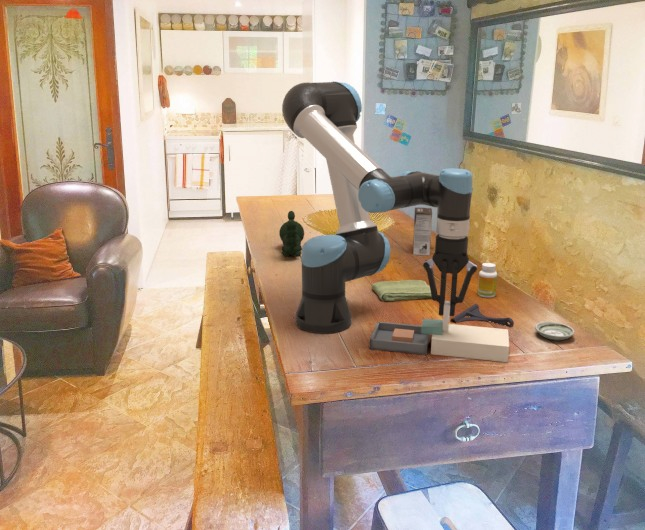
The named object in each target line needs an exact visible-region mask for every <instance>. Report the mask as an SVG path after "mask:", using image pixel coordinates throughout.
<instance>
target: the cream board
mask: <svg viewBox="0 0 645 530" xmlns="http://www.w3.org/2000/svg"><path fill="white" fill-rule="evenodd" d="M431 335H432V336H431V345H430V346H431V347H430V355H435V356H445V357H454V358H463V359H466V358H467V359H474V360H483V361H493V362H502V363H509V354H510V338H509V329H505V328H496V327H495V328H494V327H486V326H474V325H466V324H465V325H463V324H456V323H454V324H453V323H449V330H443V332H442V335H434V334H431Z"/></svg>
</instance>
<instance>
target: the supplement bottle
mask: <svg viewBox="0 0 645 530" xmlns="http://www.w3.org/2000/svg"><path fill="white" fill-rule="evenodd" d="M496 269H497V268H496V264H495V263H493V262H484V263H482V264H481V270H480V271H479V273H478V283H477V295H478V296H479V297H481V298H482V297H483V298H494V297H495V296H496V294H497V284H498V283H497V282H498V273H497V271H496Z"/></svg>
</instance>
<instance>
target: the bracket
mask: <svg viewBox="0 0 645 530" xmlns="http://www.w3.org/2000/svg"><path fill="white" fill-rule="evenodd" d="M469 316H470V317H469ZM474 320H478V322H488V321H491V322H490V323H492V322H494V323H493V324H496V323H498V324H497V325H500V324H502V325H501V326H504V325H506V326H505V327H508V326H510V327H509V328H512V327H513V326H514V324H515V322H514V320H513V319H512V318H511V317H493V316H492V317H490V316H486V315H484V314H483V313H481V311H480V308H479V304H477V303H475V304H473V305H471V306H469V307H468V308H467V309H464V310H463V311H462V312H460V313H458V314H457V315H454V317H452V318H451V319H449V323H451V322H454V324H457V323H463V322H473V321H474ZM474 322H475V321H474ZM508 324H509V325H508ZM507 325H508V326H507Z"/></svg>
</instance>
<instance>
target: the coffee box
mask: <svg viewBox="0 0 645 530" xmlns="http://www.w3.org/2000/svg"><path fill="white" fill-rule="evenodd" d="M413 215H414V218H413V237H412V238H413V239H412V240H413V241H412V242H413V244H412V246H413V247H412V249H413V250H412V251H413V252H412V253H413V255H414V256H415V255H417V256H431V244H432V241H431V239H432V224H433V211H432V207H414V214H413Z"/></svg>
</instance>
